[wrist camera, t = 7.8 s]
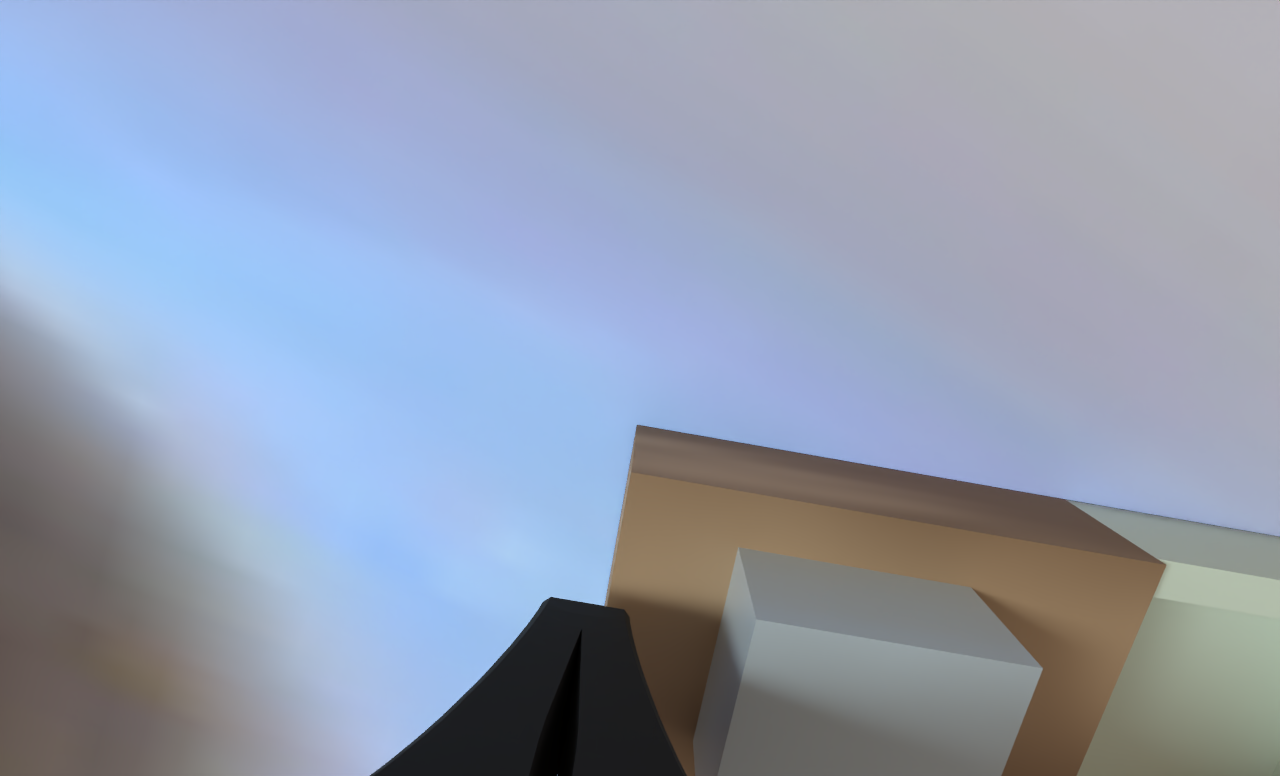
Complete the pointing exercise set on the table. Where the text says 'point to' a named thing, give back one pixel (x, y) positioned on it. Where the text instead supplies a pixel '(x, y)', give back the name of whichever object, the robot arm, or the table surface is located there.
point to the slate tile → (858, 676)
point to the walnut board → (880, 541)
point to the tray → (1196, 656)
